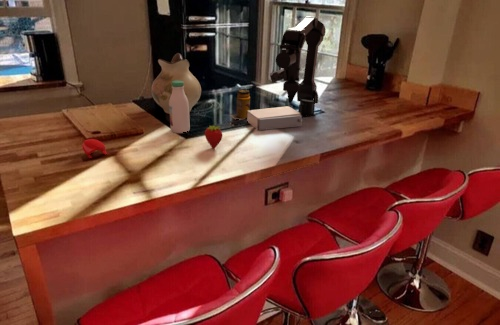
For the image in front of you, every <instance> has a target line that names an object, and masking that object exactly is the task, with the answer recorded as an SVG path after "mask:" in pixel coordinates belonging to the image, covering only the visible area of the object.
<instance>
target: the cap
mask: <svg viewBox="0 0 500 325" xmlns="http://www.w3.org/2000/svg"><path fill="white" fill-rule="evenodd" d="M82 142H83V143H82V146H81V148H82V151H83V152H84V153H85V154H86V156H87V157H88V158H89V159H90V158H91V159H93V156H92V155H91V153H92V154H93V152H94V153H95V152H96V151H98V152H101V153H102V154H104V155H105V156H107V155H108V153H107V150H106V145H105V144H104V143H103V142H102V141H100V140H98V139H95V138H90V139H89V138H88V139H85V140H84V141H82ZM85 154H84V155H85ZM106 154H107V155H106Z"/></svg>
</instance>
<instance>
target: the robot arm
mask: <svg viewBox="0 0 500 325" xmlns="http://www.w3.org/2000/svg"><path fill="white" fill-rule="evenodd" d="M325 35H326V26H325V24H324V23H323V22H321V21H320V20H319V18H318V17H316V16H311V15H310V16H309V15H308V16H304V18H303V20H302V21H301V22H299V23H298V24H297V25H296V26H295V27H289V28H287V29H286V30H285V31H284V32H283V35H282V37H281V38H282V39H281V42H280V45H279V49H280V53H278V54H277V55H276V58H275V63H276V65H277V67H278V68H280V69H279V70H275V71H272V72H270V73H269V76H270V80H271V83H272V84H273V83H277V82H278V81H282V80H283V84H282V86H283V89H282V90H283V91H284V92H287V101H288V104H292V103H293V100H294V99H295V97H296V100H297V102H299V104H298V111H297V112H299V113H301V114H300V115H301V116H302V118H304V117H305V118H306V117H314V116H317V114H316V113H315V107H316V104H319V97H320V96H319V94H318V91H317V89H318V88H317V87H318V86H317V84H316V82H315V76H316V68H317V61H318V60H317V59H318V53H319V52H318V51H319V47H320V45H321V44H322V43H323V41H324V37H325ZM305 42H306V45H307V48H306V49H307V50H306V58H305V65H304V71H303V72H304V74H303V80H302V81H301V82H299V81H300V71H301V54H302V53H301V52H302V50H303V47H304V44H305Z"/></svg>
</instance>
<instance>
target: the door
mask: <svg viewBox="0 0 500 325" xmlns="http://www.w3.org/2000/svg"><path fill="white" fill-rule="evenodd" d="M302 118H303V116H302V115H297V116H286V117H275V118H264V119H258V123H257V129H256V130H257V131H264V130H275V129H283V128H293V127H301V126H302Z"/></svg>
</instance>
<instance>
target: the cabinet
mask: <svg viewBox="0 0 500 325" xmlns="http://www.w3.org/2000/svg"><path fill="white" fill-rule="evenodd" d="M300 114H301V113H299V112H298V111H297V110H295V109H294V108H292V107H290V106H289V105H288V106H287V105H285V106H277V107H269V108H267V107H266V108H260V109H259V108H258V109H250V110H248V114H247V120H246V121H248V124H250V125H251V126H252V127H254V128H255V129H256V130H257V123H258V119H264V118H275V117H286V116H297V115H300Z"/></svg>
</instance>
